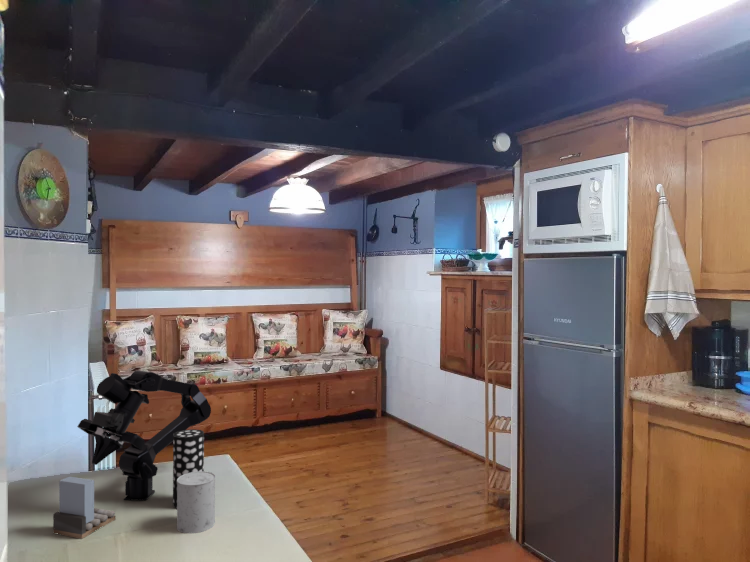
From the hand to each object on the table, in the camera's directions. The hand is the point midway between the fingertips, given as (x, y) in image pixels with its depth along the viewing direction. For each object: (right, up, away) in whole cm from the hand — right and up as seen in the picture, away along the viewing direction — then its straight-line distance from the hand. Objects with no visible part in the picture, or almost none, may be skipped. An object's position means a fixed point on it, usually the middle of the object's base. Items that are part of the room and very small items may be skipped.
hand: (93, 464), depth 146 cm
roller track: (+1, -14, -6) cm, 15 cm away
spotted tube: (+23, -14, +8) cm, 28 cm away
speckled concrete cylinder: (+29, -14, -5) cm, 33 cm away
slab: (0, -11, -9) cm, 14 cm away
